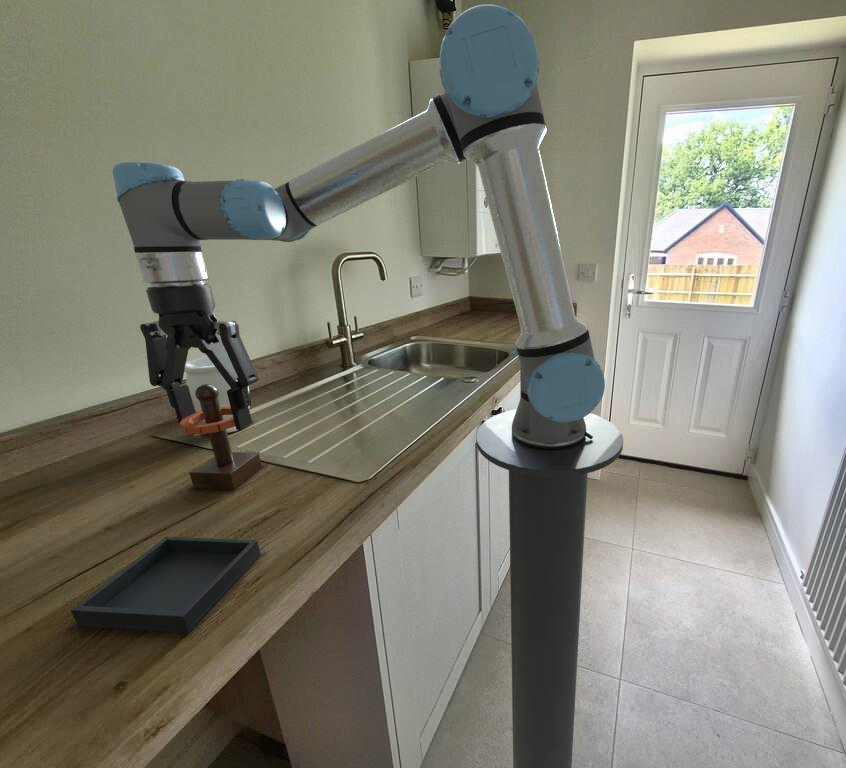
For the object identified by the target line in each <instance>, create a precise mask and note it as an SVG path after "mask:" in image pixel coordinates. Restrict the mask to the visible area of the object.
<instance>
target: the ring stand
mask: <svg viewBox="0 0 846 768" xmlns="http://www.w3.org/2000/svg"><path fill="white" fill-rule="evenodd" d="M195 395H196V398H197V399H198V400H199V401H200V405H201V408H202V412H203V416H204V419H205V423H204V424H209V423H215V422H219V421H222V420H223V416H222V412H221V408H220V404H219V400H218V396H219V391H218V389H217V388H216V387H215V386H214V385H211V384H203V385H201V386H199V387H198V388H197V389H196V392H195ZM208 438H209V441H210V445H211V449H212V452H213V457H211V458H209V459H208V460H206V461H205V462H203V463H201V464H200V465H198V466H197V467H196V468H194V469H192V470H190V471H189V477H190V480H191V483H192V487H193V489H201V490H203V489H204V490H231V491H232V490H233V491H234V490H236V489H237V488H239V487H240V486H241V485H242V484H244V483H245V482H246V481H247V480H249V479H250V478H251V477H252V476H254V475H255V474H256V473H257V472H259V471H260V470H261V469H262V468H263V465H262V462H261V457H260V453H259V452H240V451H239V452H238V451H237V452H236V451H232V448H231V443H230V440H229V436H228V433H227V431H226V430H223V431H220V430H219V432H213V433H208Z"/></svg>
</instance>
